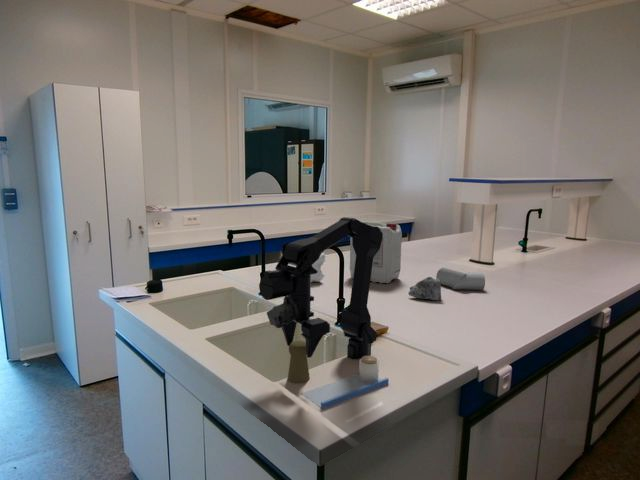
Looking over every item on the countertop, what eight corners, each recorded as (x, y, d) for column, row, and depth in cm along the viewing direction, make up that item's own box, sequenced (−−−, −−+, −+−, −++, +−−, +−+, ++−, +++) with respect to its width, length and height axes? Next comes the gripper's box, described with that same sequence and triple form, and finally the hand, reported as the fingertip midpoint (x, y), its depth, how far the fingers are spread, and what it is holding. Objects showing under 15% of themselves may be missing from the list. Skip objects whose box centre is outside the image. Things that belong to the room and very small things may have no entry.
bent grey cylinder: (442, 289, 204) (486, 290, 203) (442, 267, 205) (485, 268, 204) (434, 288, 222) (474, 289, 221) (434, 267, 222) (474, 268, 222)
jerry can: (402, 278, 230) (404, 222, 226) (388, 285, 215) (390, 225, 210) (362, 272, 243) (363, 219, 239) (345, 279, 227) (347, 222, 223)
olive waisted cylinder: (282, 383, 113) (282, 342, 111) (297, 375, 118) (297, 336, 116) (299, 390, 109) (300, 348, 108) (314, 381, 114) (315, 341, 113)
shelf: (365, 375, 118) (365, 366, 118) (388, 387, 111) (388, 378, 111) (301, 398, 106) (301, 388, 105) (322, 413, 99) (322, 403, 98)
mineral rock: (406, 298, 193) (407, 276, 192) (418, 293, 201) (419, 272, 200) (434, 304, 185) (435, 281, 184) (444, 298, 193) (445, 276, 192)
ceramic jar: (369, 373, 117) (369, 353, 116) (382, 380, 113) (383, 359, 112) (354, 378, 114) (355, 357, 113) (368, 385, 110) (368, 364, 109)
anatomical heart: (303, 283, 217) (304, 253, 215) (310, 278, 228) (311, 250, 226) (322, 285, 214) (322, 255, 212) (328, 279, 225) (329, 251, 223)
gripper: (253, 289, 113) (254, 346, 115) (292, 307, 98) (292, 372, 100) (289, 283, 119) (289, 337, 122) (331, 299, 105) (330, 360, 107)
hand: (299, 351), depth 112 cm, fingers open, 9 cm apart
